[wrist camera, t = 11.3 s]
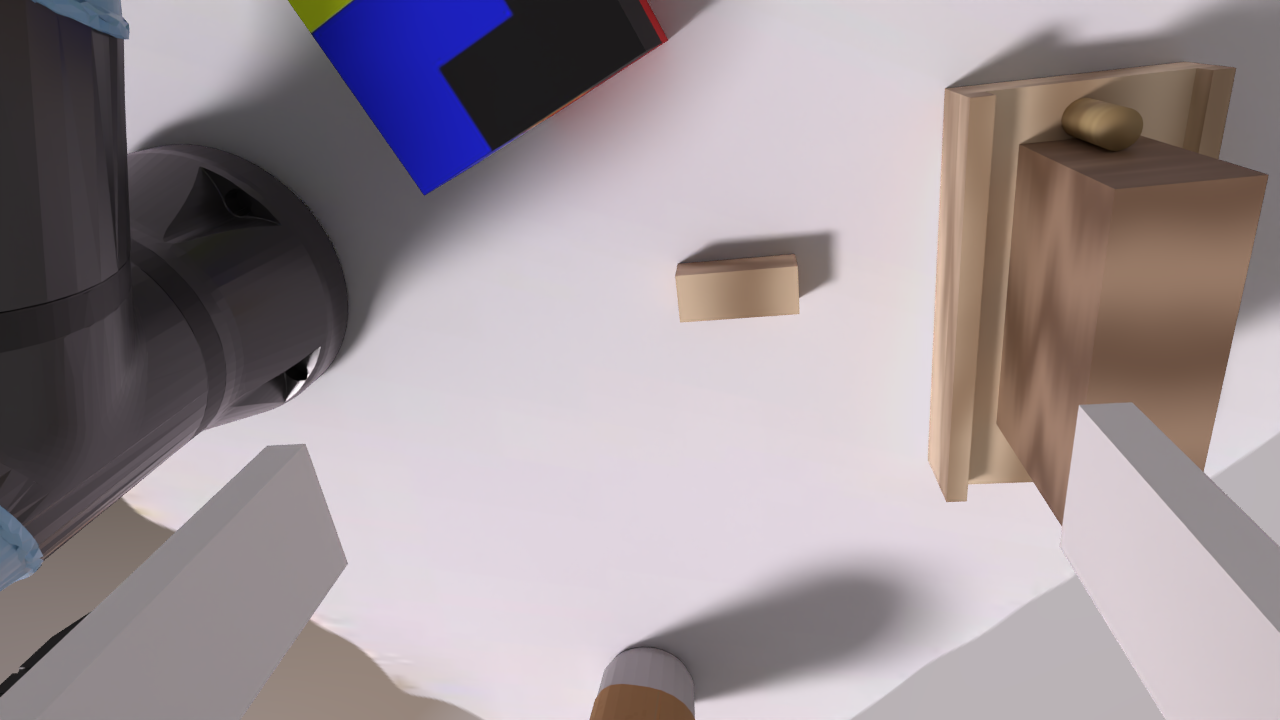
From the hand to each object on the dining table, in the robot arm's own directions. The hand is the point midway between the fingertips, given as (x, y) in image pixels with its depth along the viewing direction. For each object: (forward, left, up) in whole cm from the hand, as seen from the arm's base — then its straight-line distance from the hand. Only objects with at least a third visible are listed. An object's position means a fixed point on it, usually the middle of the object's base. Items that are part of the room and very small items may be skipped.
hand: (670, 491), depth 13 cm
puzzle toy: (-8, +9, -27) cm, 30 cm away
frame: (+16, -6, -24) cm, 30 cm away
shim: (+1, -6, -27) cm, 27 cm away
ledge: (+16, -7, -27) cm, 32 cm away
